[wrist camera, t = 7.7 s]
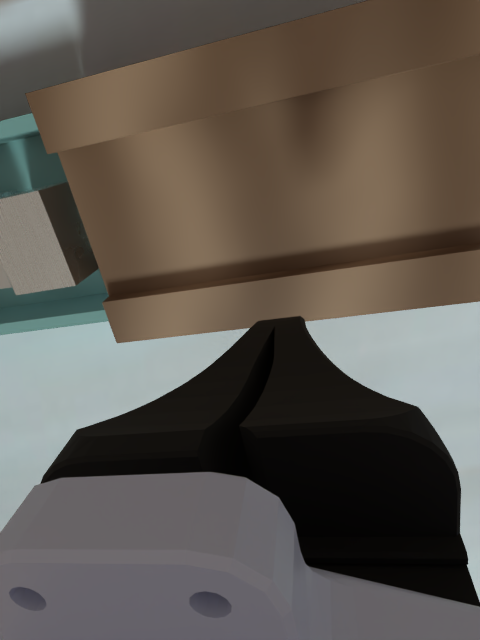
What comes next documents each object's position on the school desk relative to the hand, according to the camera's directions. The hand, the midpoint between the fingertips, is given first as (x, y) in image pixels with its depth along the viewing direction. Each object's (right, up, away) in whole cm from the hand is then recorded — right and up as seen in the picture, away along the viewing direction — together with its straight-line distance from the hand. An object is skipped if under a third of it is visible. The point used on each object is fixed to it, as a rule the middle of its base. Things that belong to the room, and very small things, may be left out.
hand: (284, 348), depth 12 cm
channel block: (0, +7, +7) cm, 10 cm away
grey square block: (-11, +5, +7) cm, 14 cm away
